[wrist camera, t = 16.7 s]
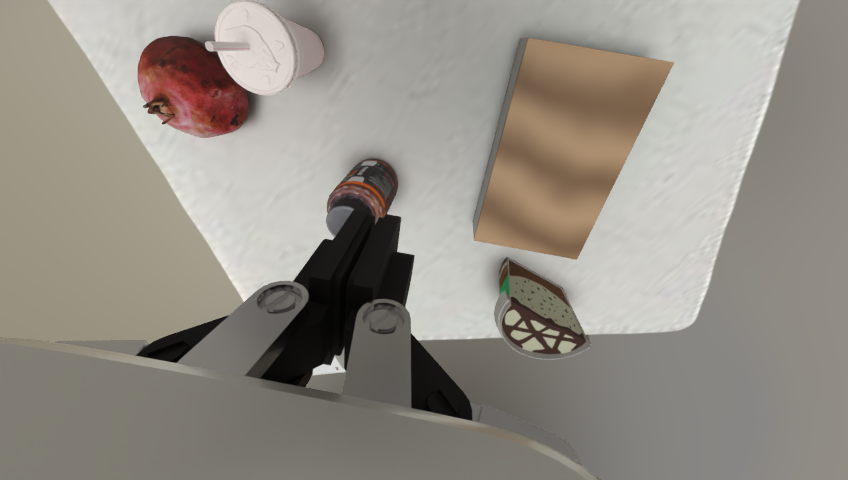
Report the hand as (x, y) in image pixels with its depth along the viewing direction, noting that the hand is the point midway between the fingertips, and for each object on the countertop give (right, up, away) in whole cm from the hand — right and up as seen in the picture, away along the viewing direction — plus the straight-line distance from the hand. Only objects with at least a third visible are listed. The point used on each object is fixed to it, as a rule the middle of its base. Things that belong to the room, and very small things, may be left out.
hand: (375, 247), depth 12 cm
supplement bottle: (-4, +8, +28) cm, 29 cm away
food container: (+16, -6, +34) cm, 38 cm away
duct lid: (+15, +8, +20) cm, 27 cm away
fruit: (-21, +18, +24) cm, 36 cm away
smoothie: (-10, +20, +21) cm, 31 cm away
